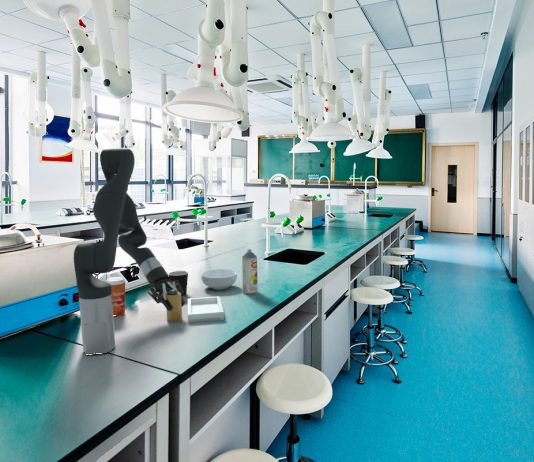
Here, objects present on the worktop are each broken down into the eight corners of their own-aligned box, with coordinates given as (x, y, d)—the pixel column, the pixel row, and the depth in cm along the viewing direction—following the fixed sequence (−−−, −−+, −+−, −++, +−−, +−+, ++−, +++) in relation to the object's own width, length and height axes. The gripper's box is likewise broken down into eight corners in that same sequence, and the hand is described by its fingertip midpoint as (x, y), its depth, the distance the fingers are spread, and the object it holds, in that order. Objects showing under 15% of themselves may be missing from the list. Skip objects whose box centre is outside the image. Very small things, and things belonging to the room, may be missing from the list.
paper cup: (105, 318, 151) (103, 282, 149) (108, 311, 158) (105, 277, 156) (127, 316, 153) (125, 280, 151) (128, 309, 160) (126, 275, 158)
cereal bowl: (194, 289, 188) (194, 275, 187) (215, 281, 203) (214, 267, 202) (224, 294, 180) (224, 278, 179) (243, 285, 195) (243, 271, 194)
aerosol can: (253, 295, 178) (253, 251, 175) (240, 293, 181) (239, 250, 178) (260, 291, 184) (259, 248, 181) (246, 289, 187) (245, 247, 184)
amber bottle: (182, 321, 147) (180, 292, 145) (166, 322, 146) (165, 293, 144) (182, 316, 152) (181, 288, 150) (167, 317, 151) (166, 289, 149)
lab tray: (223, 319, 147) (223, 311, 147) (188, 322, 145) (187, 314, 144) (219, 303, 167) (219, 296, 166) (188, 305, 164) (187, 298, 164)
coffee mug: (192, 293, 182) (192, 272, 180) (179, 298, 174) (178, 276, 173) (174, 290, 187) (173, 269, 186) (160, 295, 180) (159, 273, 179)
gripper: (143, 269, 144) (167, 307, 139) (172, 262, 156) (196, 296, 151) (134, 282, 148) (157, 318, 143) (164, 274, 160) (186, 307, 155)
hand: (177, 307), depth 147 cm, fingers closed on amber bottle, 5 cm apart
